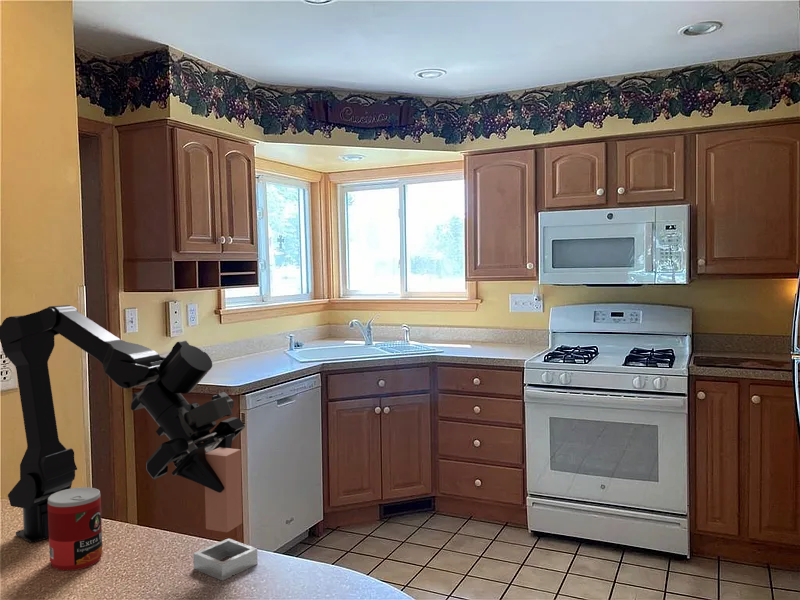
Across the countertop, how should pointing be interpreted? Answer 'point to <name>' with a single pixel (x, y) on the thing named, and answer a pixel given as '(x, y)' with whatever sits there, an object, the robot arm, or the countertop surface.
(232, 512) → the salmon brown rectangular block
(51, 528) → the canned food
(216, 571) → the gray square planter
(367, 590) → the countertop surface
